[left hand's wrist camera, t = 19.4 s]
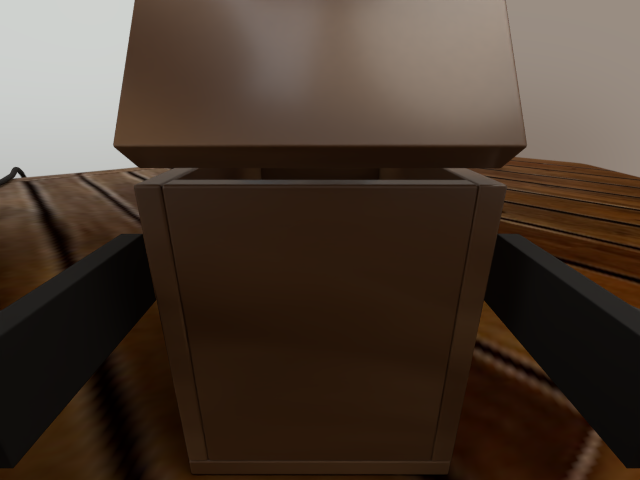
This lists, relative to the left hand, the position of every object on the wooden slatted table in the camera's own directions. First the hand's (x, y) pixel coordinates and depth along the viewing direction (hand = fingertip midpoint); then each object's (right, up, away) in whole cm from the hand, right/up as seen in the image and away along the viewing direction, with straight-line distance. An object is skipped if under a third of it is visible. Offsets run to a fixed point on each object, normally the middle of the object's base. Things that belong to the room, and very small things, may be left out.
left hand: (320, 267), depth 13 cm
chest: (0, -5, +7) cm, 8 cm away
